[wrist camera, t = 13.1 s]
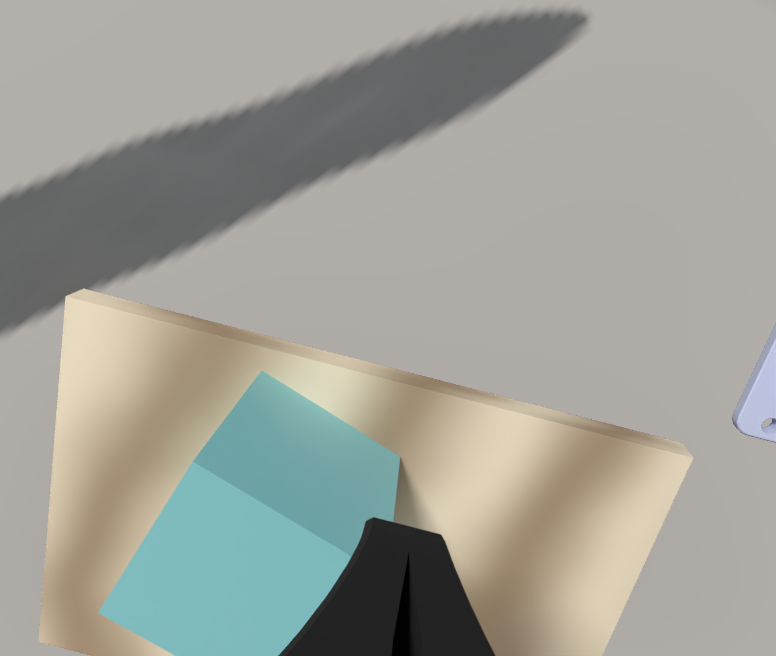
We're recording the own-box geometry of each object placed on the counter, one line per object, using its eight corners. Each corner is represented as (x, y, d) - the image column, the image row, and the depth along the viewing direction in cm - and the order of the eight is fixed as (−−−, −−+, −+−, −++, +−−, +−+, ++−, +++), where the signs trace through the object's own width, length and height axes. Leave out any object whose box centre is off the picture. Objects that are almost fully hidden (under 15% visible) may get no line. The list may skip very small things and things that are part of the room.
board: (680, 442, 19) (760, 540, 15) (543, 747, 24) (571, 899, 19) (83, 288, 19) (-31, 336, 15) (54, 621, 24) (-41, 742, 19)
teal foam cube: (400, 456, 19) (387, 577, 14) (317, 565, 21) (276, 712, 15) (261, 369, 19) (192, 461, 13) (186, 488, 20) (97, 612, 15)
